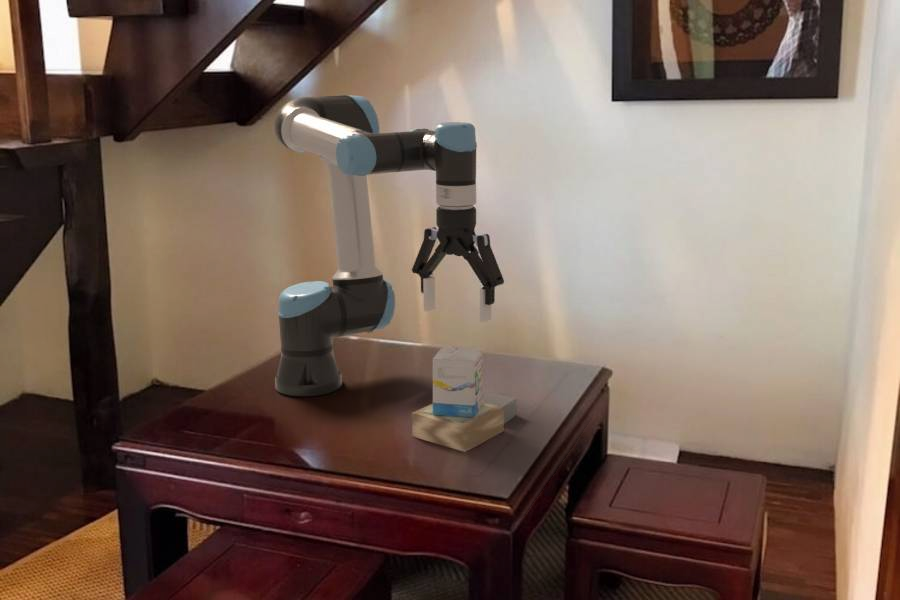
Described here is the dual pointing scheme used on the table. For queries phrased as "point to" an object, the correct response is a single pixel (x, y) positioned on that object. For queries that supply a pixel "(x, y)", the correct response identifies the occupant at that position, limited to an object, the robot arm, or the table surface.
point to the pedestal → (458, 427)
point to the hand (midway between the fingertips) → (457, 315)
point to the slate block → (502, 404)
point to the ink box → (457, 382)
